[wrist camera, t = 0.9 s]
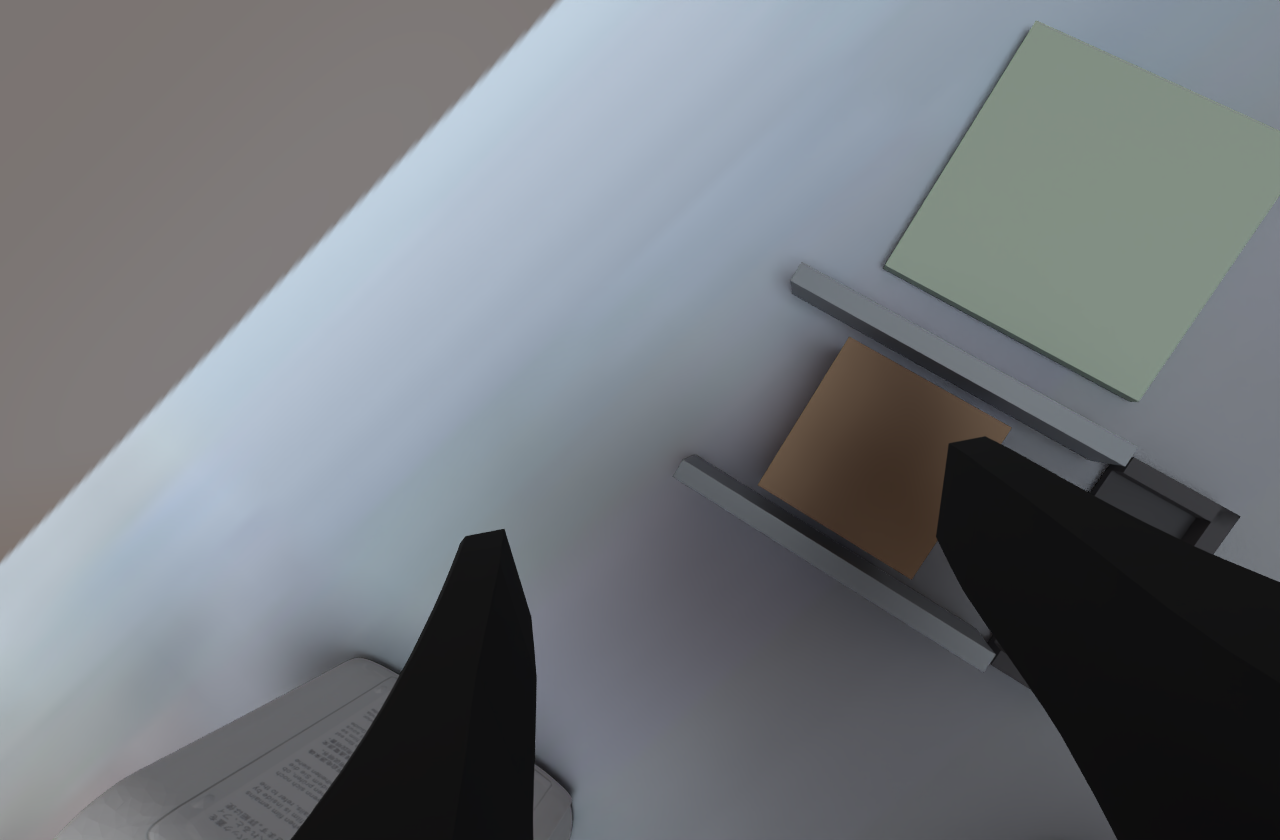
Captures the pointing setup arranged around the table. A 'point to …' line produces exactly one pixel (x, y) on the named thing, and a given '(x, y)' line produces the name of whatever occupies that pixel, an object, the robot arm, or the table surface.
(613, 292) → the table surface
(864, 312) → the channel
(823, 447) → the block
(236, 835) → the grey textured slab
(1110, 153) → the coaster
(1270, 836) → the robot arm
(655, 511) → the table surface
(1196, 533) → the tray
